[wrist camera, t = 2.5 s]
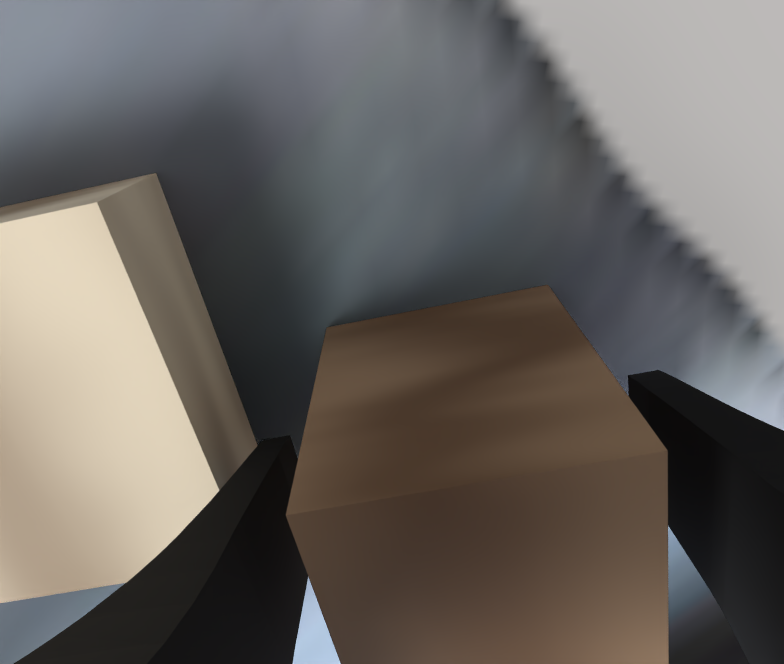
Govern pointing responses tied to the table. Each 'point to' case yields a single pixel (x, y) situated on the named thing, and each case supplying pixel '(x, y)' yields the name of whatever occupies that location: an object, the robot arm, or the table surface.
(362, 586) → the walnut cube
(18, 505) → the maple block
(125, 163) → the table surface
